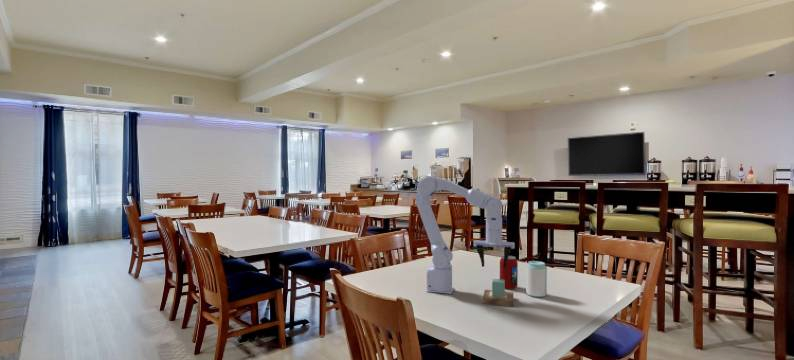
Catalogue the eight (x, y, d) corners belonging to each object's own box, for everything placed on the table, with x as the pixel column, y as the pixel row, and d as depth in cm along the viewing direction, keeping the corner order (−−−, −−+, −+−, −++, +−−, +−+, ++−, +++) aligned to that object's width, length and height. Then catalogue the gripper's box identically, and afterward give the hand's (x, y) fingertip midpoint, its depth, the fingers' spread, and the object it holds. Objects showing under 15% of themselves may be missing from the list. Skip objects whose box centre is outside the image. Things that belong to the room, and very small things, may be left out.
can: (523, 295, 142) (523, 262, 141) (531, 291, 147) (531, 259, 147) (541, 299, 137) (542, 265, 137) (549, 295, 142) (549, 262, 142)
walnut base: (482, 303, 132) (482, 297, 132) (485, 295, 141) (485, 289, 141) (513, 306, 129) (513, 300, 129) (513, 297, 138) (513, 291, 138)
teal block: (492, 295, 134) (492, 281, 134) (493, 292, 137) (493, 278, 137) (504, 297, 132) (504, 282, 132) (504, 293, 136) (504, 279, 136)
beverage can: (518, 290, 147) (518, 259, 147) (500, 289, 149) (500, 258, 149) (516, 285, 154) (516, 255, 154) (499, 284, 155) (499, 255, 155)
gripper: (472, 230, 140) (472, 267, 140) (514, 232, 135) (514, 270, 135) (474, 228, 146) (474, 263, 146) (514, 229, 142) (514, 266, 142)
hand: (493, 266), depth 141 cm, fingers open, 7 cm apart
